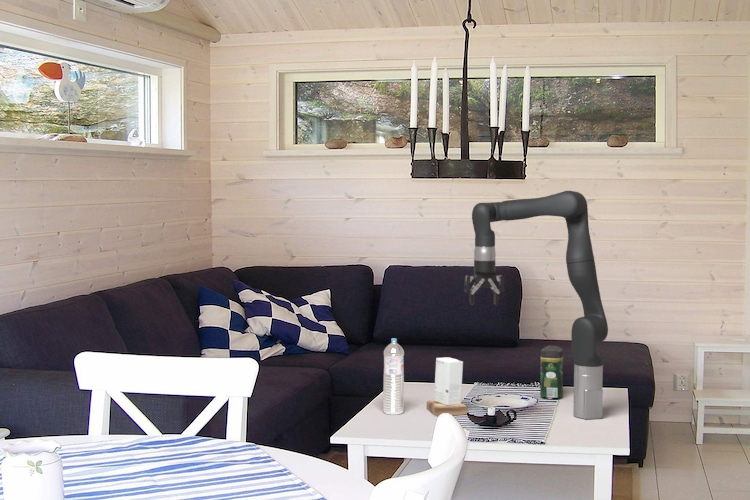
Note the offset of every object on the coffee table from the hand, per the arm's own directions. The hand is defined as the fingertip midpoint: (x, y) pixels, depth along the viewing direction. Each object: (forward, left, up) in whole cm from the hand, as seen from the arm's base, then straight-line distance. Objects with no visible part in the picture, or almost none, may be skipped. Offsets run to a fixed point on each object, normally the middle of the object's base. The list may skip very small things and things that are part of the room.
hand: (484, 304), depth 332 cm
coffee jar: (0, -26, -34) cm, 43 cm away
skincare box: (-15, +18, -31) cm, 39 cm away
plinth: (-15, +18, -34) cm, 41 cm away
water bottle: (-13, +36, -34) cm, 51 cm away
